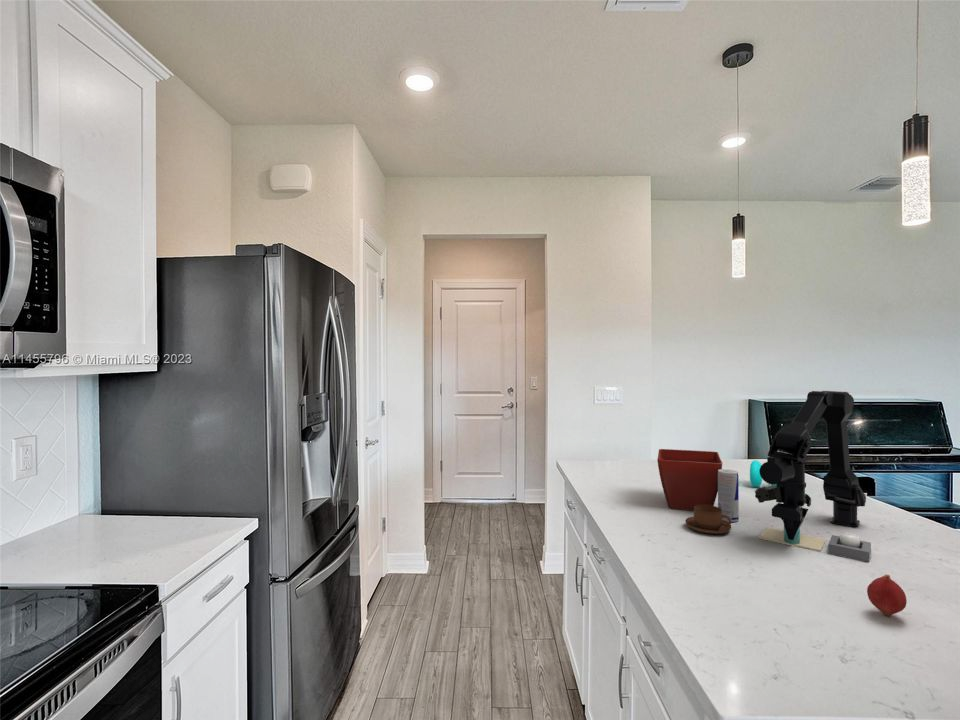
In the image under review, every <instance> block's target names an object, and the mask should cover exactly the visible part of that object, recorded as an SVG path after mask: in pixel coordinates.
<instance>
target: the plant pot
mask: <svg viewBox="0 0 960 720" xmlns="http://www.w3.org/2000/svg"><path fill="white" fill-rule="evenodd" d="M657 468H658V473H659V478H660V483H661V487H662V490H663V493H664V497H665V500H666V503H667V506H668V508H669V509H672V510H673V509H674V510H681V511H683V510H684V511H693V512H694V506H696V505H711V506H715V503H716V500H717V497H718V470H720V469H723V462H722V459H721V457H720V454H719V452H718V451H710V450H709V451H708V450H707V451H706V450H690V449H689V450H688V449H670V448H667V449H666V448H658V454H657Z"/></svg>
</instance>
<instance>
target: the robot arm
mask: <svg viewBox="0 0 960 720" xmlns="http://www.w3.org/2000/svg"><path fill="white" fill-rule="evenodd" d="M803 403H804V404H803V405H802V406H801V408H800V410H798V412H797V414H796V415H795V417H794V418H793V420H792V421H791V423H789V424H786V425H783V426H782V427H781V428H780V430H778V431H777V432H776V434H775V435H774V437H773V439H772V442H771V445H770V448H769V449H768V452H767V461H766V462H763V463H762V464H761V465H762V466H761V467H760V470H759V472H760V476H761V478H762V481H764V482H765V483H767V484H768V485H769V486H763V487H760V486H758V487H757V488H756V490H755V491H754V493H755V494H754V497H755V499H757V500H758V501H757V502H758V503H759V504H760V503H765V502H769V501H775V502H776V504H774V506H773V507H771V517H773V518H779V519H780V520H781V521H782V522H783V527H784V526H785V529H786V533H787V536H788V539H790V540H793V539H794V537H795V535H796V533H797V531H798V528H799V526H800V527H801V526H802V524H803V522H804V519H805V518H806V515H807V513H808V511H809V508H810V506H811V505H812V497H811V496H810V495H809V494H808V493H806V488H807V482H806V479H805V478H806V475H805V474H806V472H805V471H806V470H805V469H806V466H805V465H806V464H805V463H806V462H807V461H809V459H808V457H807V455H808V453H809V452H810V449H811V447H812V443H813V442H812V437H811V434H812V432H813V430H814V429H815V427H816V425H817V424H818V422H819V421H820V419H821V417H822V419H823V420H824V421H825V425H826V427H825V428H826V436H827V437H826V438H827V448H828V459H829V470H828V471H827V473H826V474H825V475H824V476H823V477H822V480H823V484H822V488H823V492H824V493H823V494H824V498H825V500H826V501H831V502H832V504H833V505H832V508H833V509H832V511H833V513H832V515H833V516H832V517H831V519H830V523H831V524H837V525H842V526H847V527H852V528H859V527H860V526H859V525H860V524H861V521H860V520H859V519H858V507H865V506H866V503H867V496H866V494H865V493H864V491H863V489H862V487H861V486H860V481H859V478H858V476H857V475H856V474H855V472H854V471H853V470H852V469H851V462H850V461H851V460H850V451H849V450H850V449H849V439H848V438H849V437H848V425H847V420H848V419H849V417H850V416H851V415H852V413H853V411H854V410H853V409H854V403H855V400H854V397H853V396H852V395H851V394H850V392H848V391H836V390H833V391H832V390H821V391H820V390H812V391H809V392H808V393H807V396H806V400H805V402H803ZM771 484H776V485H774V486H771ZM805 505H806V507H808V508H805V507H804V506H805Z"/></svg>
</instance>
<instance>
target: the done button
mask: <svg viewBox="0 0 960 720" xmlns="http://www.w3.org/2000/svg"><path fill="white" fill-rule="evenodd" d="M839 536H840V545H845V546H850V547H855V548H860V541H861V540H860V538H861V536H859V535H858V534H855V533H851V532H840V533H839Z"/></svg>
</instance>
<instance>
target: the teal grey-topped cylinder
mask: <svg viewBox="0 0 960 720" xmlns="http://www.w3.org/2000/svg"><path fill="white" fill-rule="evenodd" d="M783 530H784V541H785V542H787V543H791V544H800V534H801V526H799V528H798V531H797V533H796V535H795V537H794V539H793V540H790V539H788V536H787V533H786V529H785V526H784V525H783Z"/></svg>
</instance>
